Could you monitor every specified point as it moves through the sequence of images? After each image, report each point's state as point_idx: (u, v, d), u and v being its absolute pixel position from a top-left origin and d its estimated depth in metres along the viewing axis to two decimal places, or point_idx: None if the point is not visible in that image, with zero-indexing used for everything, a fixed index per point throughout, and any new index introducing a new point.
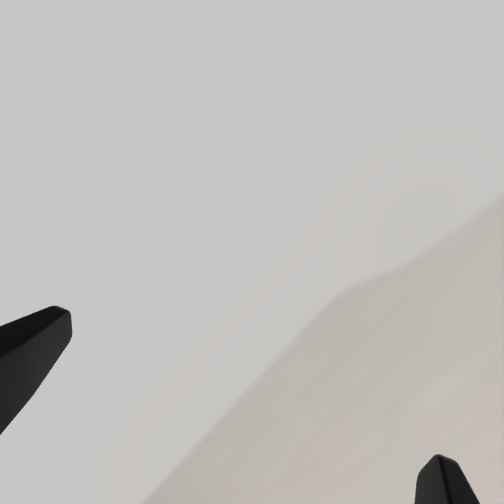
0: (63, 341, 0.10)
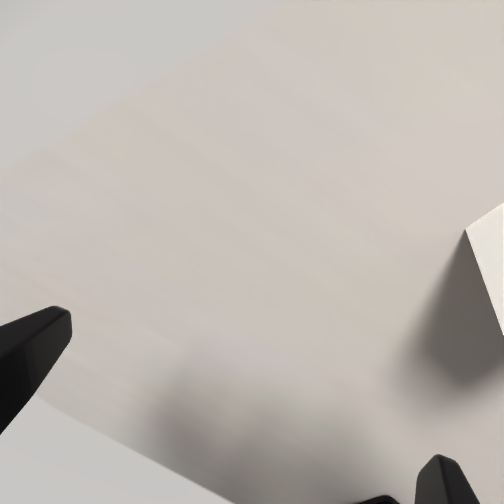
0: (63, 341, 0.10)
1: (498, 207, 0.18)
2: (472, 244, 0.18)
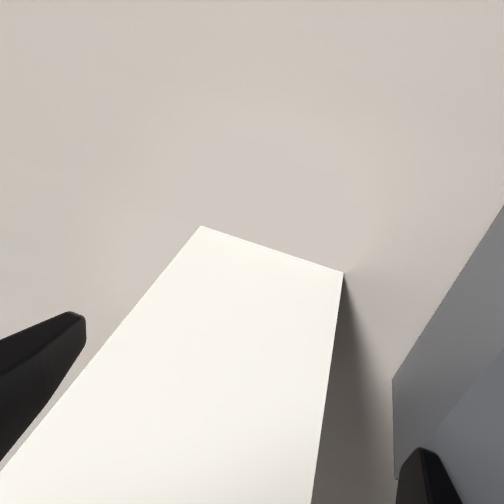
0: (77, 347, 0.10)
1: None
2: None
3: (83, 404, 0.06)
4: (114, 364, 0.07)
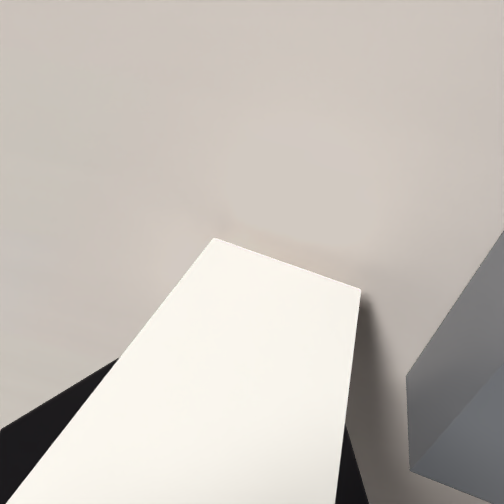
0: None
1: None
2: None
3: (90, 432, 0.06)
4: (123, 388, 0.07)
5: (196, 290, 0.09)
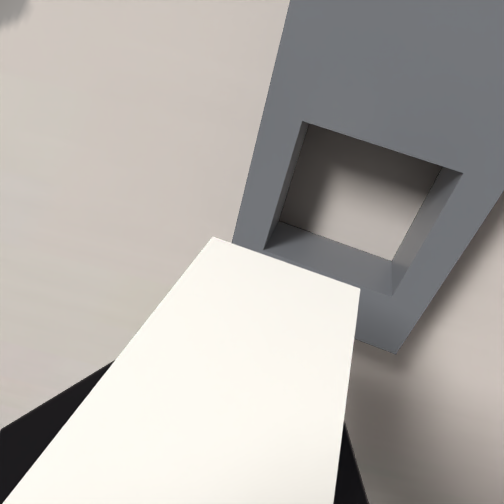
0: None
1: None
2: None
3: (88, 432, 0.06)
4: (121, 387, 0.06)
5: (195, 289, 0.09)
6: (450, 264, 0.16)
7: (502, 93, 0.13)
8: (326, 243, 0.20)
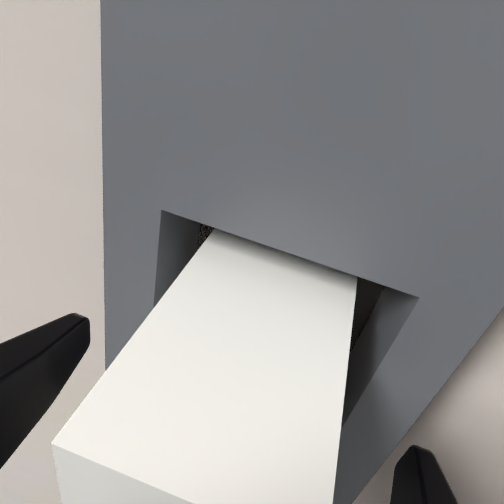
0: (82, 348, 0.10)
1: None
2: None
3: (152, 340, 0.07)
4: (172, 312, 0.08)
5: (222, 245, 0.10)
6: (411, 416, 0.10)
7: (477, 179, 0.07)
8: None
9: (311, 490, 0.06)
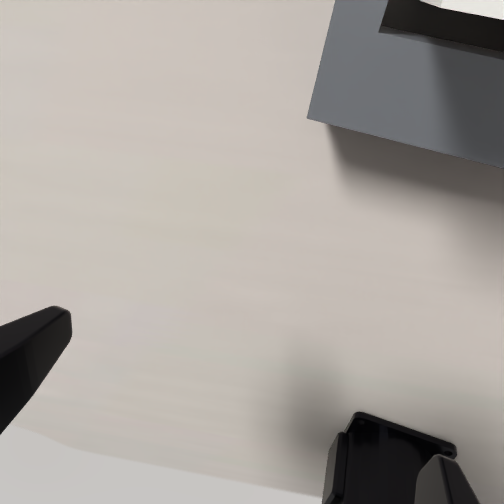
0: (63, 341, 0.10)
1: None
2: None
3: None
4: None
5: None
6: None
7: None
8: (455, 43, 0.14)
9: None
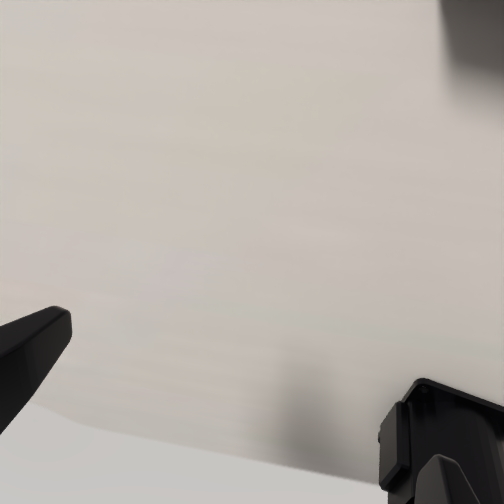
0: (63, 341, 0.10)
1: None
2: None
3: None
4: None
5: None
6: None
7: None
8: None
9: None
